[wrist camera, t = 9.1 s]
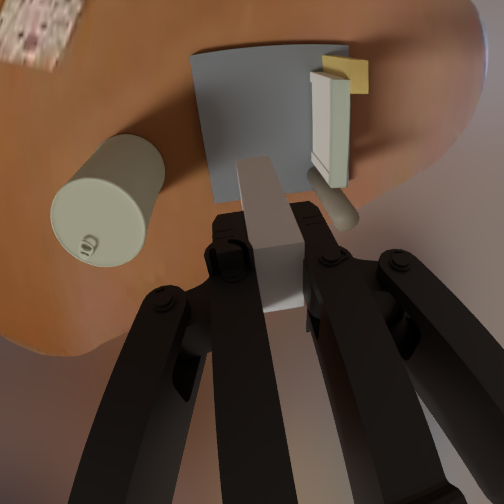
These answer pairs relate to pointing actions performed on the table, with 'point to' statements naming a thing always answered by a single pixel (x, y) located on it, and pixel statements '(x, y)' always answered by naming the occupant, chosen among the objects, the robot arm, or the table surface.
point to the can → (109, 202)
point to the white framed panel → (330, 126)
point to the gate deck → (270, 116)
